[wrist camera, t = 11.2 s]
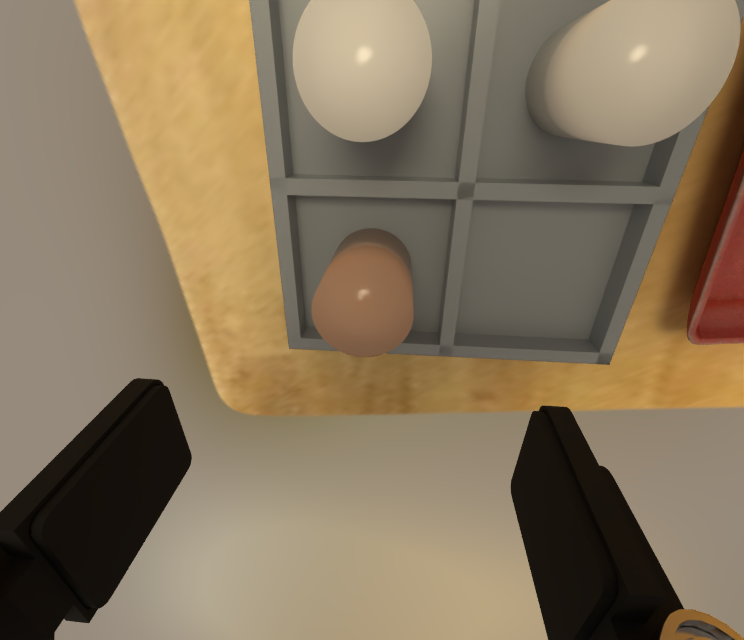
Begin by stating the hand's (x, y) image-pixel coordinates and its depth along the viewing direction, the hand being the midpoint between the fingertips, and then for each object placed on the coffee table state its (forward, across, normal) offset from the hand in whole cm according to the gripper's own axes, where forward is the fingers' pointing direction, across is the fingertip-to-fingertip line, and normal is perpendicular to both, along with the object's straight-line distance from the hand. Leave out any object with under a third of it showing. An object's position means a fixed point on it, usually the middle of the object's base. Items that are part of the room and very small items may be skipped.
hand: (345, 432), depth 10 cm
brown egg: (+14, 0, +1) cm, 14 cm away
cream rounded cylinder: (+14, -9, -8) cm, 19 cm away
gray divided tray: (+15, -4, -4) cm, 16 cm away
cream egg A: (+14, 0, -8) cm, 16 cm away
